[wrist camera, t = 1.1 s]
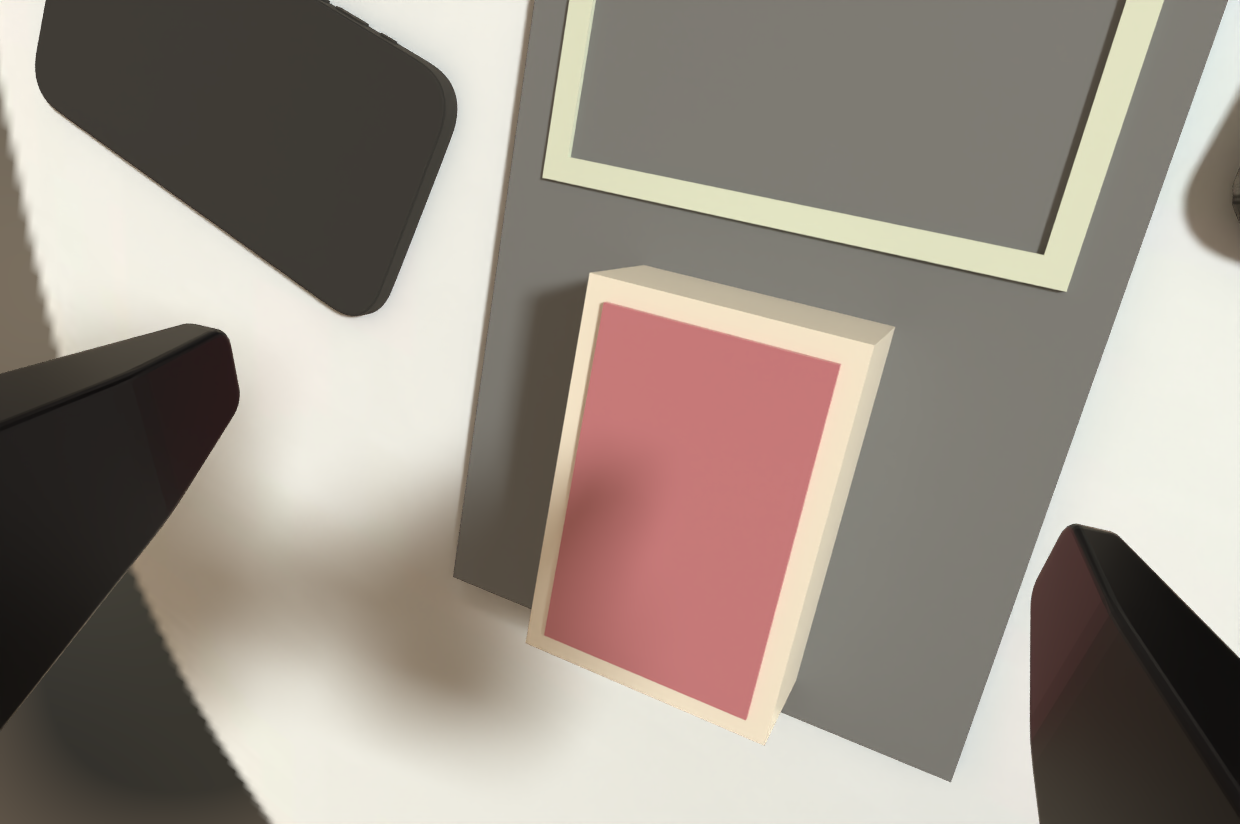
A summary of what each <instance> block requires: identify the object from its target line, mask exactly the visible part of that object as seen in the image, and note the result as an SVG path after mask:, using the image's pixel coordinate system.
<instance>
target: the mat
mask: <svg viewBox="0 0 1240 824" xmlns="http://www.w3.org/2000/svg"><path fill="white" fill-rule="evenodd" d="M1227 2H1228V0H535V2H534V9H533V16H532V23H531V30H530V37H529V44H528V51H527V58H526V66H525V73H524V80H523V87H522V94H521V101H520V108H519V115H518V122H517V129H516V136H515V143H514V150H513V157H512V164H511V172H510V179H509V186H508V193H507V200H506V207H505V214H504V221H503V228H502V235H501V242H500V249H499V256H498V263H497V271H496V278H495V285H494V292H493V299H492V306H491V313H490V320H489V327H488V334H487V341H486V348H485V355H484V362H483V369H482V377H481V384H480V391H479V398H478V405H477V412H476V419H475V426H474V433H473V440H472V447H471V454H470V461H469V468H468V475H467V483H466V490H465V497H464V504H463V511H462V518H461V525H460V532H459V539H458V546H457V553H456V560H455V567H454V574H453V577H455V578H457V579H460V580H462V581H465V582H467V583H470V584H472V585H474V586H477V587H479V588H482V589H484V590H486V591H489V592H491V593H494V594H496V595H499V596H501V597H503V598H506V599H508V600H511V601H513V602H516V603H518V604H520V605H523V606H525V607H528V608H530V609H532V604H533V598H534V592H535V586H536V580H537V575H538V569H539V563H540V557H541V551H542V546H543V540H544V534H545V528H546V523H547V517H548V511H549V505H550V499H551V494H552V488H553V482H554V476H555V470H556V465H557V459H558V453H559V447H560V442H561V436H562V430H563V424H564V418H565V413H566V407H567V401H568V395H569V389H570V384H571V378H572V372H573V366H574V361H575V355H576V349H577V343H578V337H579V332H580V326H581V320H582V314H583V308H584V303H585V297H586V291H587V285H588V280H589V274H590V273H591V272H598V271H605V270H613V269H620V268H627V267H634V266H641V265H646V266H650V267H654V268H658V269H662V270H666V271H670V272H674V273H679V274H683V275H687V276H691V277H695V278H699V279H703V280H707V281H711V282H715V283H719V284H723V285H727V286H731V287H735V288H740V289H744V290H748V291H752V292H756V293H760V294H764V295H768V296H772V297H776V298H780V299H784V300H788V301H792V302H796V303H801V304H805V305H809V306H813V307H817V308H821V309H825V310H829V311H833V312H837V313H841V314H845V315H849V316H853V317H857V318H862V319H866V320H870V321H874V322H878V323H882V324H886V325H890V326H894V327H895V329H894V333H893V337H892V340H891V344H890V347H889V351H888V354H887V358H886V362H885V365H884V369H883V372H882V376H881V379H880V383H879V387H878V390H877V394H876V397H875V401H874V404H873V408H872V412H871V415H870V419H869V422H868V426H867V429H866V433H865V436H864V440H863V444H862V447H861V451H860V454H859V458H858V461H857V465H856V469H855V472H854V476H853V479H852V483H851V486H850V490H849V494H848V497H847V501H846V504H845V508H844V511H843V515H842V519H841V522H840V526H839V529H838V533H837V536H836V540H835V543H834V547H833V551H832V554H831V558H830V561H829V565H828V568H827V572H826V576H825V579H824V583H823V586H822V590H821V593H820V597H819V601H818V604H817V608H816V611H815V615H814V618H813V622H812V625H811V629H810V633H809V636H808V640H807V643H806V647H805V650H804V654H803V658H802V661H801V665H800V668H799V672H798V675H797V679H796V682H795V684H794V686H793V688H792V690H791V692H790V694H789V696H788V698H787V700H786V702H785V704H784V706H783V708H782V710H781V712H782V713H784V714H787V715H789V716H792V717H794V718H796V719H799V720H801V721H804V722H806V723H809V724H811V725H813V726H816V727H818V728H821V729H823V730H826V731H828V732H830V733H833V734H835V735H838V736H840V737H842V738H845V739H847V740H850V741H852V742H855V743H857V744H859V745H862V746H864V747H867V748H869V749H872V750H874V751H876V752H879V753H881V754H884V755H886V756H889V757H891V758H893V759H896V760H898V761H901V762H903V763H905V764H908V765H910V766H913V767H915V768H918V769H920V770H922V771H925V772H927V773H930V774H932V775H935V776H937V777H939V778H942V779H944V780H947V781H949V782H951V780H952V778H953V775H954V772H955V769H956V766H957V763H958V761H959V758H960V755H961V752H962V749H963V747H964V744H965V741H966V738H967V735H968V732H969V730H970V727H971V724H972V721H973V718H974V715H975V713H976V710H977V707H978V704H979V701H980V699H981V696H982V693H983V690H984V687H985V684H986V682H987V679H988V676H989V673H990V670H991V668H992V665H993V662H994V659H995V656H996V653H997V651H998V648H999V645H1000V642H1001V639H1002V637H1003V634H1004V631H1005V628H1006V625H1007V622H1008V620H1009V617H1010V614H1011V611H1012V608H1013V605H1014V603H1015V600H1016V597H1017V594H1018V591H1019V589H1020V586H1021V583H1022V580H1023V577H1024V574H1025V572H1026V569H1027V566H1028V563H1029V560H1030V558H1031V555H1032V552H1033V549H1034V546H1035V543H1036V541H1037V538H1038V535H1039V532H1040V529H1041V527H1042V524H1043V521H1044V518H1045V515H1046V512H1047V510H1048V507H1049V504H1050V501H1051V498H1052V495H1053V493H1054V490H1055V487H1056V484H1057V481H1058V479H1059V476H1060V473H1061V470H1062V467H1063V464H1064V462H1065V459H1066V456H1067V453H1068V450H1069V448H1070V445H1071V442H1072V439H1073V436H1074V433H1075V431H1076V428H1077V425H1078V422H1079V419H1080V417H1081V414H1082V411H1083V408H1084V405H1085V402H1086V400H1087V397H1088V394H1089V391H1090V388H1091V385H1092V383H1093V380H1094V377H1095V374H1096V371H1097V369H1098V366H1099V363H1100V360H1101V357H1102V354H1103V352H1104V349H1105V346H1106V343H1107V340H1108V338H1109V335H1110V332H1111V329H1112V326H1113V323H1114V321H1115V318H1116V315H1117V312H1118V309H1119V307H1120V304H1121V301H1122V298H1123V295H1124V292H1125V290H1126V287H1127V284H1128V281H1129V278H1130V275H1131V273H1132V270H1133V267H1134V264H1135V261H1136V259H1137V256H1138V253H1139V250H1140V247H1141V244H1142V242H1143V239H1144V236H1145V233H1146V230H1147V228H1148V225H1149V222H1150V219H1151V216H1152V213H1153V211H1154V208H1155V205H1156V202H1157V199H1158V196H1159V194H1160V191H1161V188H1162V185H1163V182H1164V180H1165V177H1166V174H1167V171H1168V168H1169V165H1170V163H1171V160H1172V157H1173V154H1174V151H1175V149H1176V146H1177V143H1178V140H1179V137H1180V134H1181V132H1182V129H1183V126H1184V123H1185V120H1186V118H1187V115H1188V112H1189V109H1190V106H1191V103H1192V101H1193V98H1194V95H1195V92H1196V89H1197V86H1198V84H1199V81H1200V78H1201V75H1202V72H1203V70H1204V67H1205V64H1206V61H1207V58H1208V55H1209V53H1210V50H1211V47H1212V44H1213V41H1214V39H1215V36H1216V33H1217V30H1218V27H1219V24H1220V22H1221V19H1222V16H1223V13H1224V10H1225V8H1226V5H1227Z"/></svg>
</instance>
